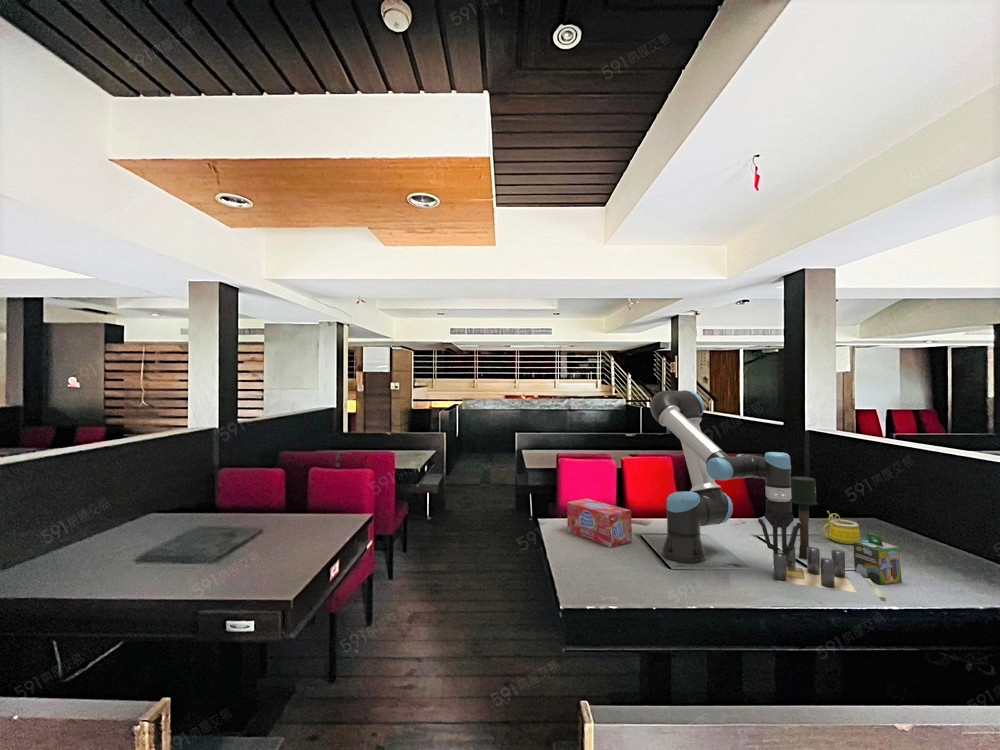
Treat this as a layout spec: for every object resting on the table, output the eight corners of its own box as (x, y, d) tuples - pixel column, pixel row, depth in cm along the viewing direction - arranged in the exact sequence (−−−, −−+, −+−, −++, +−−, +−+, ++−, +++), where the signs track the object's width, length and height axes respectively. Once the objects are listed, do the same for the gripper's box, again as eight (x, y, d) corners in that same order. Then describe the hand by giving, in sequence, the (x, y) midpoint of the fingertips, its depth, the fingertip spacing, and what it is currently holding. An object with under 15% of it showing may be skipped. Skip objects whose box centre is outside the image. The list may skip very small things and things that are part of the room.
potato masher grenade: (823, 565, 174) (821, 480, 175) (796, 563, 176) (794, 479, 177) (812, 557, 183) (811, 476, 184) (787, 555, 185) (785, 475, 186)
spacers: (774, 580, 157) (773, 555, 157) (769, 565, 170) (769, 542, 171) (855, 591, 148) (854, 564, 149) (843, 574, 162) (843, 550, 162)
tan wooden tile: (788, 577, 160) (788, 570, 160) (786, 572, 164) (786, 566, 164) (804, 579, 158) (804, 573, 158) (802, 574, 162) (802, 568, 162)
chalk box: (902, 583, 158) (901, 537, 159) (880, 585, 156) (878, 538, 157) (874, 572, 167) (873, 529, 168) (853, 575, 165) (852, 530, 166)
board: (777, 586, 156) (777, 581, 156) (772, 569, 171) (772, 565, 171) (885, 601, 145) (885, 596, 145) (869, 581, 159) (869, 577, 159)
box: (565, 531, 217) (565, 501, 217) (588, 527, 224) (587, 497, 224) (609, 548, 194) (609, 514, 194) (633, 543, 200) (632, 509, 201)
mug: (859, 540, 204) (859, 511, 204) (862, 547, 194) (861, 517, 195) (823, 535, 211) (822, 507, 211) (823, 542, 201) (822, 512, 202)
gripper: (757, 499, 163) (759, 571, 162) (803, 503, 157) (805, 577, 156) (755, 495, 169) (757, 564, 169) (799, 498, 164) (801, 569, 163)
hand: (780, 570), depth 162 cm, fingers closed
